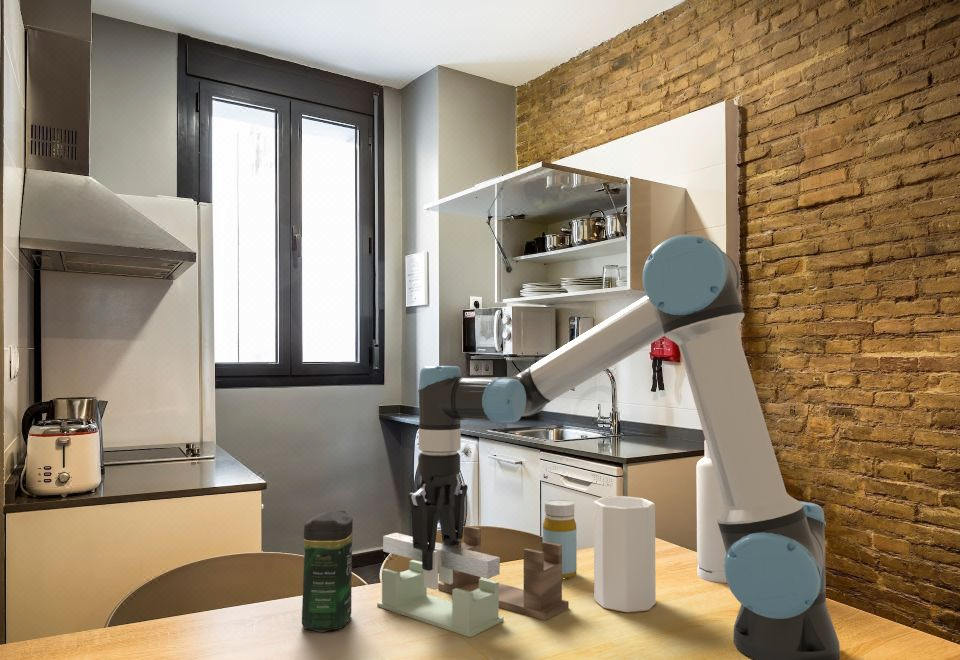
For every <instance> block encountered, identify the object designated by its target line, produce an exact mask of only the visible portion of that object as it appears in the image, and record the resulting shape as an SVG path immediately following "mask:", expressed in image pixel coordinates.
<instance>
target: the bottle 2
mask: <svg viewBox="0 0 960 660" xmlns="http://www.w3.org/2000/svg"><path fill="white" fill-rule="evenodd" d="M703 441H704V443H703V444H704V446H703V447H704V448H703V449H704V456H703V457H702V458H700V459H699V460H698V461H697V463H696V471H695V472H696V474H695V475H696V480H695V481H696V559H697V560H696V561H697V567H696V569H697V570H696V571H697V572H696V574H697V576H698V577H699V578H700V579H702V580H705V581H708V582H713V583H720V584H721V583H727V581H726V577H725V567H724V564H725V556H726V550H725V547H724V543H723V540H722V536H721V532H720V529H719V525H718V522H717V517H718V516H719V514H720V513H721V511H722V509H723V507H724V503H723V499H722V496H721V492H720V489H719V485H718V482H717V478H716V475H715V471H714V468H713V464H712V461H711V457H710V454H709V450H708V447H707V443H706V440H705V439H704V440H703Z"/></svg>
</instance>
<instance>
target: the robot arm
mask: <svg viewBox="0 0 960 660" xmlns="http://www.w3.org/2000/svg"><path fill="white" fill-rule="evenodd" d="M740 280H741V277H740V273H739V270H738V267H737V265H736V263H735V261H734V260H733V259H732V258H731V257H730V256H729V255H728V254H727V253H726V252H724V251H722V249H721V248H720V247H719V246H718V244H716V243H715V242H714V241H713V240H710V239H708V238H707V237H704V236H699V235H693V234H680V235H676V236H673V237H670V238H667V239H665V240H664V241H662V242H661V243H659V244H658V245H657V246H656V247H655V248H654V249H653V250H652V251H651V253H650V254H649V256H648V257H647V259H646V260H645V263H644V266H643V269H642V285H643V289H644V292H645V294H646V295H644V296H642V297H641V298H639V299H638V300H636V301H634V302H633V303H631V304H630V305H628V306H626V307H624V308H623V309H622V310H620V311H618V312H617V313H615V314H614V315H612V316H610V317H609V318H607V319H605V320H604V321H602V322H600V323H599V324H597V325H595V326H594V327H592V328H591V329H589V330H587V331H586V332H584V333H581V335H579V336H577V337H576V338H574V339H573V340H571V341H569V342H567V344H564V345H563V346H561V347H560V348H558V349H557V350H555V351H553V352H551V353H550V354H548V355H547V356H544V357H543V358H541V359H540V360H538V361H537V362H535V363H534V364H532V365H531V366H529V367H527V368H526V369H524V370H522V371H520V372H519V373H518V374H515V375H513V376H503V377H502V376H500V377H464V376H463V375H462V369H461V367H460V366H457V365H454V366H453V365H425V366H423V367H422V368H421V369H420V371H419V380H418V381H419V382H418V389H417V392H418V417H419V418H418V450H419V451H420V453H419V454H418V456H417V457H418V458H417V459H418V461H417V472H418V474H419V475H420V477H421V481H420V484H419V489H418V490H417V491H415V492H409V493H408V496H407V497H408V500H409V501H408V502H409V503H410V507H411V510H410V511H411V525H412V527H411V528H412V530H411V531H412V537H413V547H414V548H416V549H420V550H422V561H421V562H422V568H423V569H424V587H427V589H430V590H433V591H436V590H438V583H439V582H444V583H448V584H452V583H453V570H452V569H449V568H445V567H441V566H438V551H435V543H436V542H437V535H438V534H437V533H438V525H439V523H440V531H441V540H442V541H441V542H442V544H445V545H450V546H454V545H455V546H458V545H459V543H460V541H457V540H458V539H460V540H461V541H462V539H464V523H465V504H466V503H465V502H466V496H467V492H468V484H465V483H461V482H459V481H458V477H457V476H458V475H459V474H460V472H461V454H460V453H459V452H458V451H460V450H461V446H462V444H461V442H462V441H461V440H462V438H461V429H462V428H461V423H462V422H461V421H475V422H476V421H478V422H488V423H490V422H491V423H496V424H504V423H506V424H507V423H516V422H518V421H520V419H521V418H522V417H531V416H533V415H535V414H537V413H539V412H541V411H543V409H544V408H545V407H546V406H547V404H549V403H551V402H552V401H554V400H555V399H557V398H558V397H560V396H562V395H563V394H565V393H567V392H569V391H571V390H572V389H575V388H576V387H578V386H579V385H582V384H583V383H584V382H586V381H589V380H590V379H592V378H594V377H595V376H597V375H599V374H600V373H602V372H604V371H606V370H607V369H609V368H611V367H613V366H615V365H616V364H618V363H620V362H621V361H624V360H625V359H627V358H628V357H630V356H632V355H633V354H636V353H637V352H639V351H640V350H642V349H644V348H646V347H648V346H649V345H651V344H653V343H654V342H657V341H658V340H660V339H661V338H663V337H665V338H666V339H668V340H670V341H672V342H673V343H675V344H676V345H677V346H678V349H679V352H680V356H681V359H682V362H683V366H684V370H685V373H686V376H687V381H688V383H689V387H690V389H691V394H692V398H693V401H694V405H695V409H696V412H697V415H698V418H699V423H700V426H701V429H702V433H703V436H704V440H706V443H707V447H708V450H709V454H710V457H711V461H712V464H713V468H714V471H715V475H716V478H717V482H718V485H719V489H720V492H721V496H722V499H723V503H724V507H723V509H722V511H721V513H720V514H719V516H718V517H717V522H718V525H719V529H720V532H721V536H722V540H723V543H724V547H725V550H726V556H725V564H724V567H725V577H726V581H727V586H728V588H729V591H730V592H731V594H732V595H733V596H734V597H735V599H736V600H737V602H739V603H740V607H739V610H738V612H737V615H736V619H735V622H734V625H733V630H732V631H733V644H734V647H736V649H737V650H738V651H739V652H740V653H742V654H744V655H746V657H749V658H751V659H753V660H840V659H841V658H840V657H841V651H840V650H841V649H840V641H839V638H838V635H837V632H836V629H835V627H834V626H835V625H834V624H833V621H832V618H831V614H830V612H829V609H828V607H827V595H826V594H827V592H826V591H827V588H826V584H827V582H826V545H825V544H826V538H825V537H826V536H825V535H826V534H825V532H826V531H825V528H826V526H827V523H826V522H827V521H826V519H825V512H824V511H825V510H823V507H822V506H820V505H819V504H816V503H812V502H807V501H800V500H797V499H795V498H794V497H792V496H791V495H790V494H789V493H788V492H787V490H786V487H785V483H784V480H783V477H782V473H781V469H780V466H779V463H778V460H777V456H776V453H775V450H774V449H775V448H774V447H773V443H772V440H771V437H770V436H771V435H770V434H769V431H768V427H767V423H766V420H765V416H764V413H763V410H762V407H761V403H760V401H759V397H758V393H757V390H756V387H755V383H754V381H753V376H752V374H751V370H750V367H749V364H748V360H747V357H746V355H745V353H746V352H745V350H744V347H743V344H742V341H741V337H740V334H739V330H738V329H739V326H740V324H741V322H742V321H743V319H744V317H745V312H744V309H743V306H742V302H741V298H740V295H739V290H740V285H741V284H740ZM439 521H440V522H439ZM428 543H429V544H428Z"/></svg>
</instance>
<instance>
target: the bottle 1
mask: <svg viewBox="0 0 960 660" xmlns="http://www.w3.org/2000/svg"><path fill="white" fill-rule="evenodd" d="M545 541H546V542H551V543H556V544H560V545H562V578H570V577H572V578H574V577H575V576H576V575H577V567H578V566H577V565H578V564H577V553H578V552H577V551H578V550H577V523H576V521H575V503H574V501H572V500H569V499H559V498H558V499H547V500H546V501H545V502H544V520H543V523H542V543H543V542H545ZM574 575H575V576H574ZM573 576H574V577H573ZM570 579H571V578H570Z"/></svg>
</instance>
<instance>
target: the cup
mask: <svg viewBox="0 0 960 660" xmlns="http://www.w3.org/2000/svg"><path fill="white" fill-rule="evenodd" d="M593 556H594V557H593V558H594V559H593V564H594V565H593V570H594V571H593V584H594V585H593V588H594V591H593V592H594V593H593V594H594V595H593V596H594V597H593V599H594V601H595V602H596V603H598V604H599V605H600V606H601V607H602V608H604V609H607V610H611V611H616V612H620V613H621V612H622V613H626V614H627V613H629V614H630V613H641V612H648V611H650V610H651V608H653V606H655V605H656V603H657V600H656V598H657V597H656V595H657V593H656V504H655V503H654V502H653V501H650V500H648V499H645V498H643V497H635V496H625V495H616V496H615V495H613V496H602V497H600V498H598V499H595V500H594V501H593Z"/></svg>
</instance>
